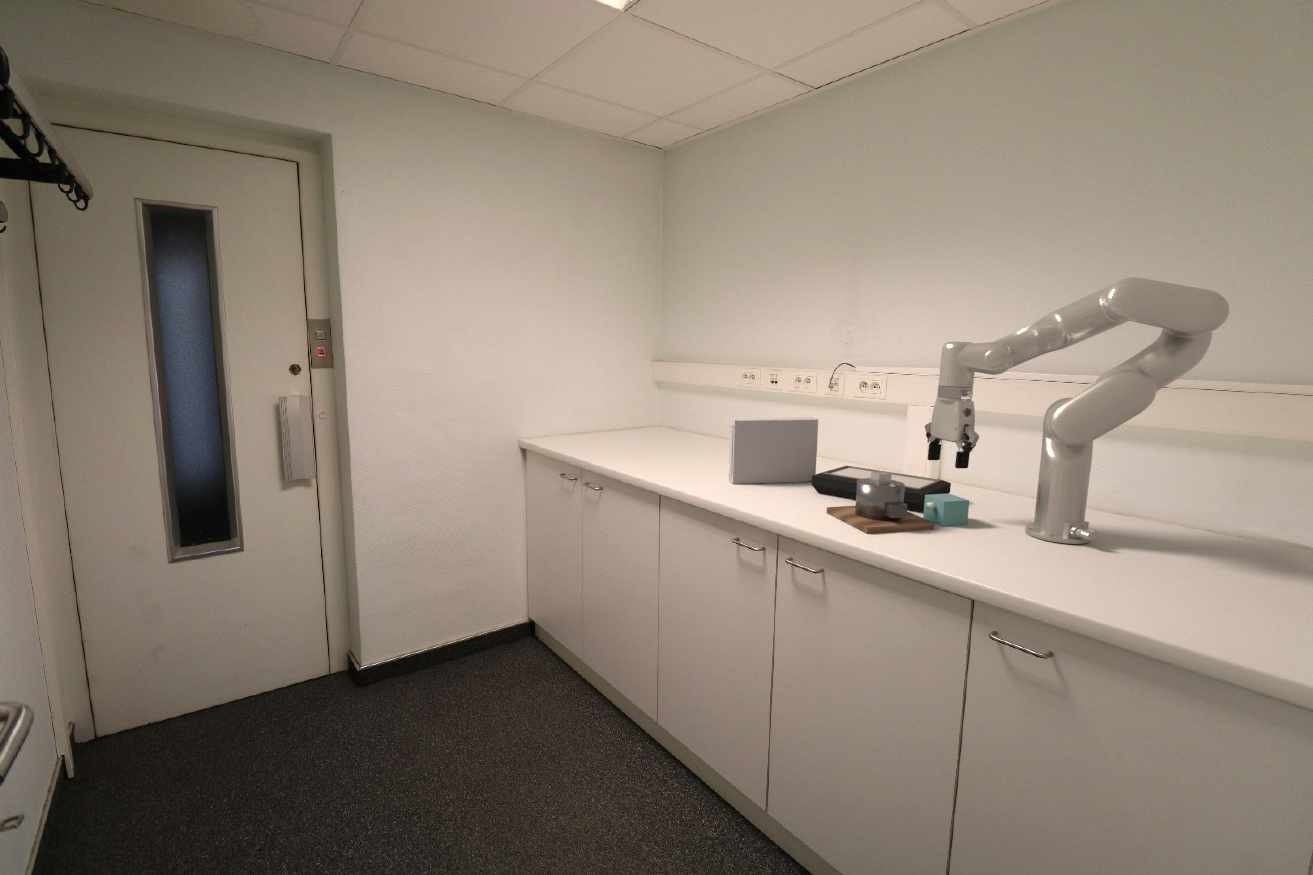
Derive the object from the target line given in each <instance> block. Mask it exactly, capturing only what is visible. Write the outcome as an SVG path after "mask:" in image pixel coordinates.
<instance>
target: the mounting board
mask: <svg viewBox="0 0 1313 875" xmlns="http://www.w3.org/2000/svg"><path fill="white" fill-rule="evenodd" d="M855 506H856V505H845V506H844V505H843V506H828V507H826V514H828V515H829V516H832V517H833V518H836V519H837V520H840V521H841V522H844V523H845V524H847V525H850V526H851V527H853V528H855V529H857V530H859V531H861V532H862V531H863V533H864V534H867V535H869V534H881V533H882V534H883V533H893V532H895V533H896V532H897V533H898V532H908V531H911V532H912V531H922V530H923V531H924V530H935V524H936V523H934V522H932V521H929V520H927V519H924V518H923V516H922V517H921V516H919V515H917V514H915V513H912V512H911V511H907V517H902V519H900V520H895V521H878V520H871V519H866V518H863V517H860V516H858V515H856V514H855Z"/></svg>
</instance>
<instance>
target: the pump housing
mask: <svg viewBox="0 0 1313 875" xmlns="http://www.w3.org/2000/svg"><path fill="white" fill-rule="evenodd" d="M969 508H970V500H969V499H966V498H963V497H961V496H959V495H958V496H957V495H954V494H951V493H949V494H932V495H925V502H924V510H923V514H922V518H924V519H927V520H929V521H932V522H934V523H935V524H936V525H939V526H941V527H950V526H951V527H953V526H962V525H963V526H964V525H968V517H969Z"/></svg>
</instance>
